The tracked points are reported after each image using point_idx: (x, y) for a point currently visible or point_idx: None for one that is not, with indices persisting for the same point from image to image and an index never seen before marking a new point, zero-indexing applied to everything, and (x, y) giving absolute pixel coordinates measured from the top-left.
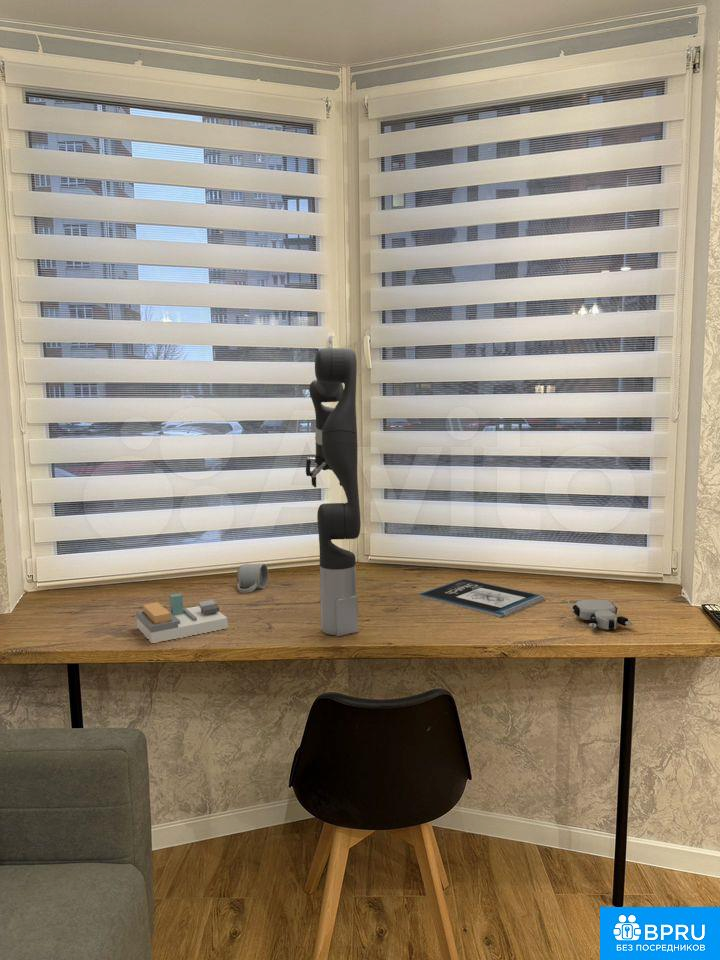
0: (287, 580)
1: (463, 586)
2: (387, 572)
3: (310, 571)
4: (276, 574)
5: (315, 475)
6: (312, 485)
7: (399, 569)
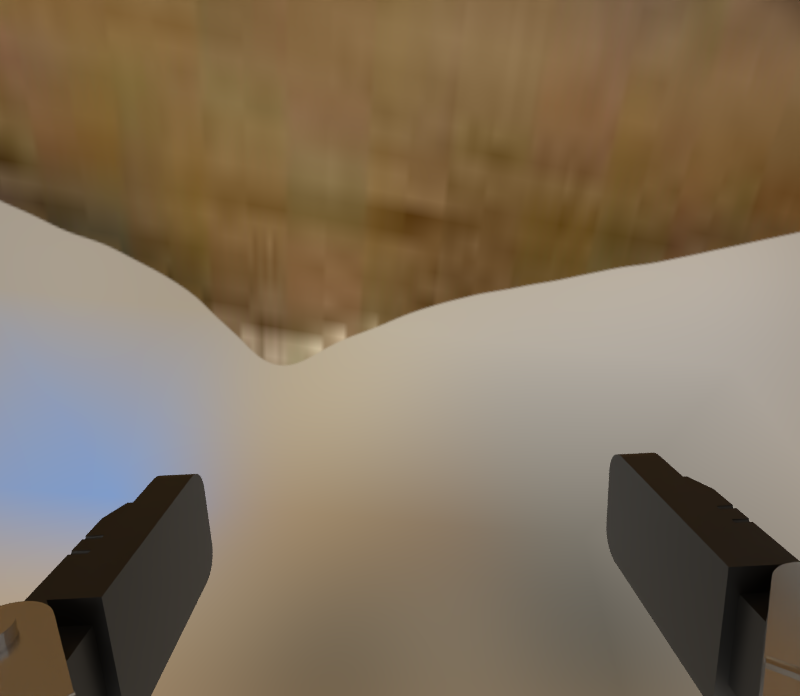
0: (635, 53)
1: None
2: (97, 115)
3: (490, 209)
4: (661, 185)
5: (795, 603)
6: (693, 481)
7: (40, 164)
